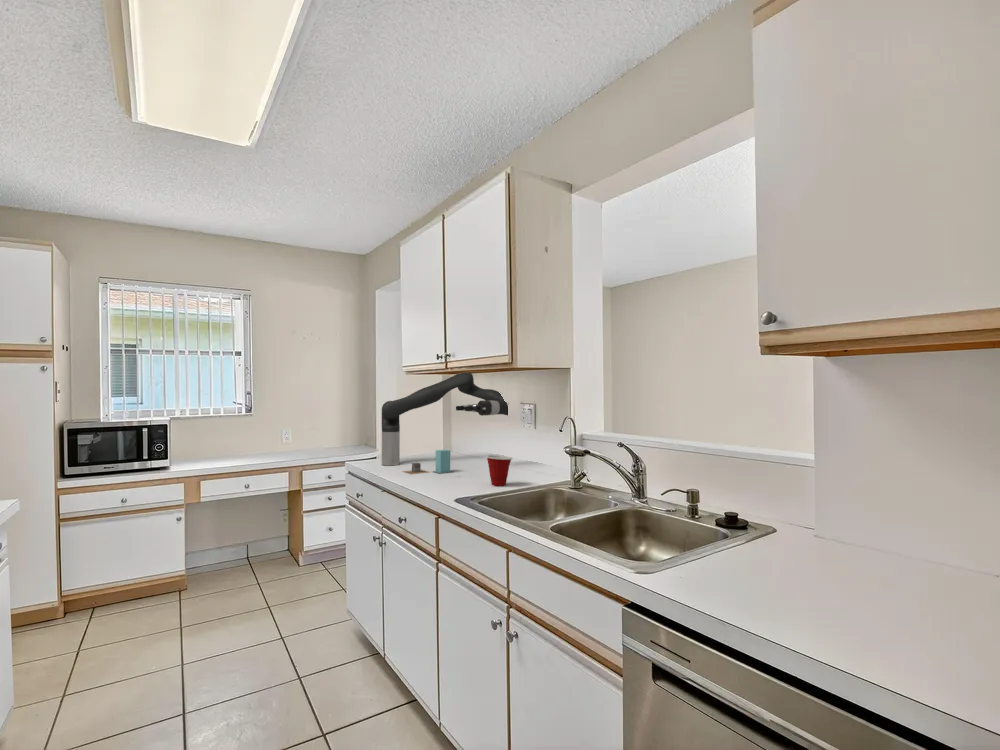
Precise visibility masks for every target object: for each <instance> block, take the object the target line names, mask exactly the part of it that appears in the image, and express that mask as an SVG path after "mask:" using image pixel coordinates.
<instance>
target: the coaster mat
mask: <svg viewBox="0 0 1000 750" xmlns="http://www.w3.org/2000/svg"><path fill="white" fill-rule="evenodd" d="M432 473H434V474H436V475H437V474H439V475H443V474H446V473H438V472H436V470H433V471H432ZM451 473H452V474H453V473H455V471H451V470H450V472H448V473H447V474H451Z"/></svg>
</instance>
